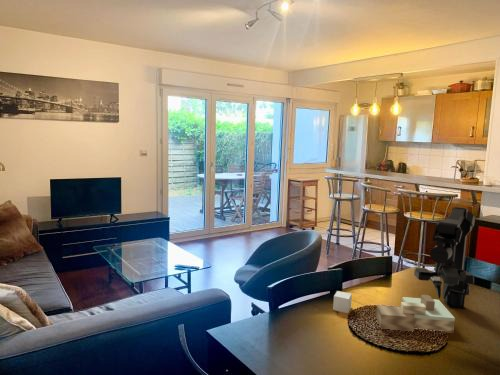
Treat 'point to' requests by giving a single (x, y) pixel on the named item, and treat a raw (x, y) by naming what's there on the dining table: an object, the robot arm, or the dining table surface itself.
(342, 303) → the white cube block
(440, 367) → the dining table surface
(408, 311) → the beige rectangular block
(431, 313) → the lid
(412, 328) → the beige rectangular tray
